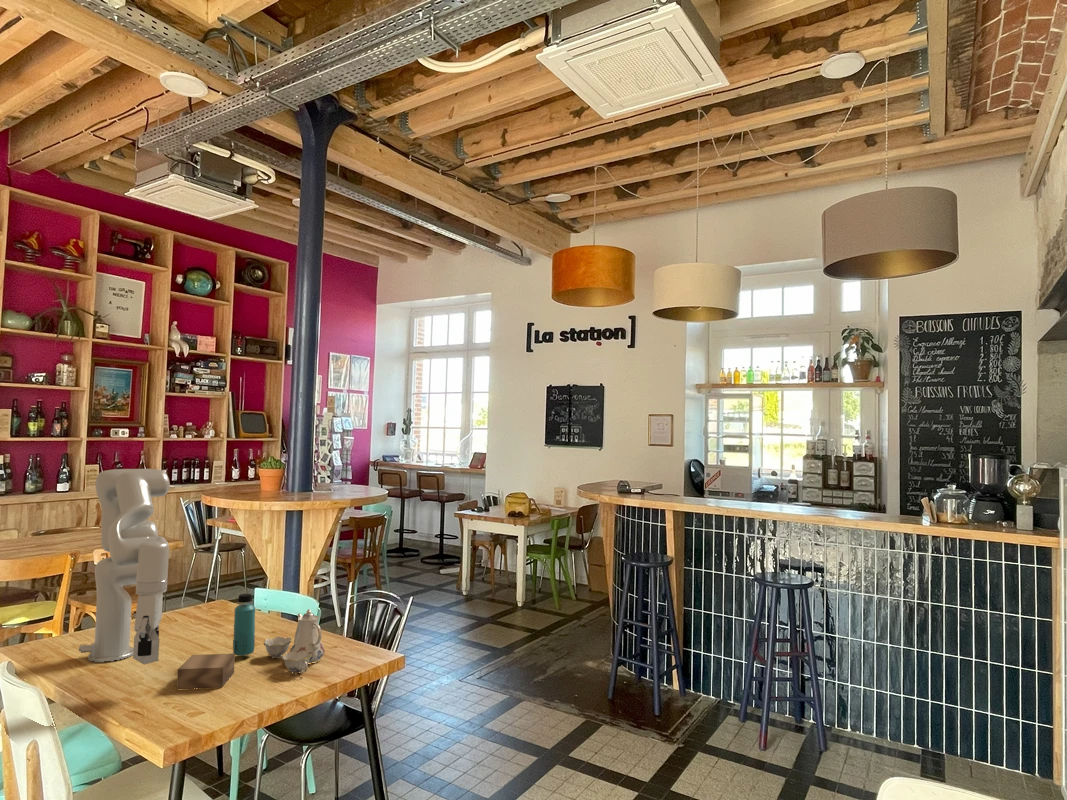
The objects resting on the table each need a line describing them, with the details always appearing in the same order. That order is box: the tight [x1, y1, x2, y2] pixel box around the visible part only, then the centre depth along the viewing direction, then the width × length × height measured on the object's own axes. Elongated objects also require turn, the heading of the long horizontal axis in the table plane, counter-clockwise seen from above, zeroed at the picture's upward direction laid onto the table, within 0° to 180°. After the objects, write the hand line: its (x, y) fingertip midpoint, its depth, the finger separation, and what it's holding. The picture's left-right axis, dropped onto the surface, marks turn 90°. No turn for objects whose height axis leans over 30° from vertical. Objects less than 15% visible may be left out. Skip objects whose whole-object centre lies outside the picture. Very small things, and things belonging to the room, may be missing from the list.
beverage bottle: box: [232, 593, 256, 657], centre depth 213 cm, size 6×7×20 cm
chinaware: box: [263, 608, 326, 674], centre depth 209 cm, size 28×17×17 cm, turn 45°
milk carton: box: [132, 628, 160, 665], centre depth 183 cm, size 4×7×10 cm, turn 54°
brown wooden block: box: [176, 652, 236, 690], centre depth 192 cm, size 12×12×6 cm
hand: (148, 649), depth 183 cm, fingers closed on milk carton, 7 cm apart
